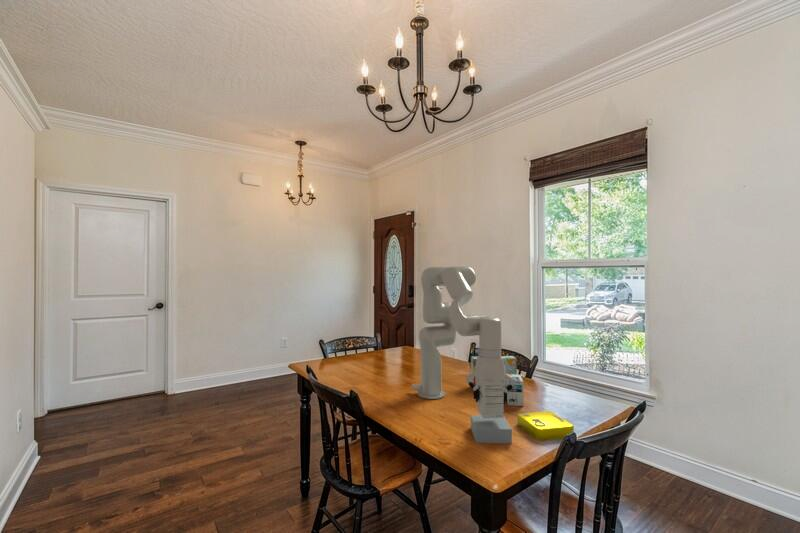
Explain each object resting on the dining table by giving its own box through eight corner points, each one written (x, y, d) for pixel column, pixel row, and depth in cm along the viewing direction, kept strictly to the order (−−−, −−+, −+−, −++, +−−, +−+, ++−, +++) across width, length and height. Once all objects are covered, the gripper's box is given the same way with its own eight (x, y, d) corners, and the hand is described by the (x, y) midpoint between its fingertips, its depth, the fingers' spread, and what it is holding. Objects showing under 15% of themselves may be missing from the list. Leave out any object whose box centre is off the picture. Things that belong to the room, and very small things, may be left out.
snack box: (513, 385, 192) (513, 355, 192) (516, 389, 186) (516, 358, 186) (470, 386, 191) (470, 355, 191) (473, 389, 185) (473, 358, 185)
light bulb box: (524, 406, 163) (524, 381, 163) (507, 405, 164) (507, 380, 164) (521, 398, 173) (521, 374, 173) (505, 397, 175) (505, 373, 175)
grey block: (475, 443, 130) (475, 428, 130) (470, 428, 142) (470, 415, 142) (511, 444, 129) (511, 429, 129) (503, 429, 141) (503, 415, 141)
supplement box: (477, 410, 139) (477, 375, 139) (497, 410, 139) (497, 375, 139) (483, 418, 131) (483, 382, 131) (504, 418, 132) (504, 381, 132)
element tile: (576, 438, 134) (576, 424, 134) (537, 442, 131) (537, 428, 131) (550, 421, 148) (550, 409, 148) (515, 424, 145) (515, 412, 145)
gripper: (464, 354, 134) (464, 403, 134) (516, 356, 130) (516, 408, 130) (466, 349, 141) (466, 396, 141) (515, 352, 137) (515, 400, 137)
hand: (490, 402), depth 135 cm, fingers closed on supplement box, 8 cm apart
